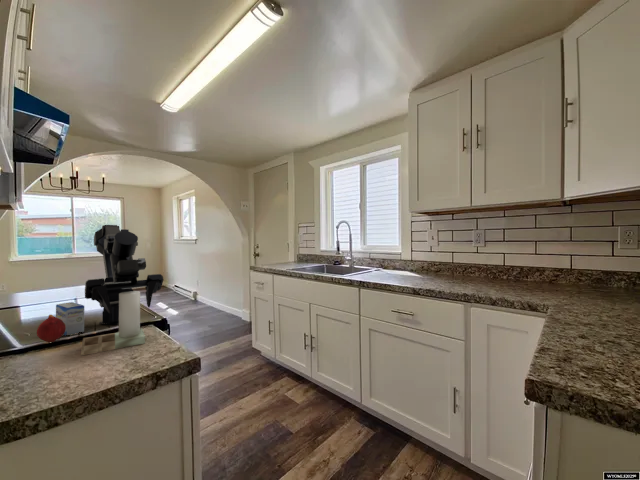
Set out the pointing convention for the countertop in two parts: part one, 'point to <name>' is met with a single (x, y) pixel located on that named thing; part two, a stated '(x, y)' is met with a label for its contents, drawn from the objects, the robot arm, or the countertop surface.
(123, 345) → the board
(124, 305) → the white cylinder
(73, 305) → the medicine box
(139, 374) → the countertop surface
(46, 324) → the onion
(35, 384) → the countertop surface
